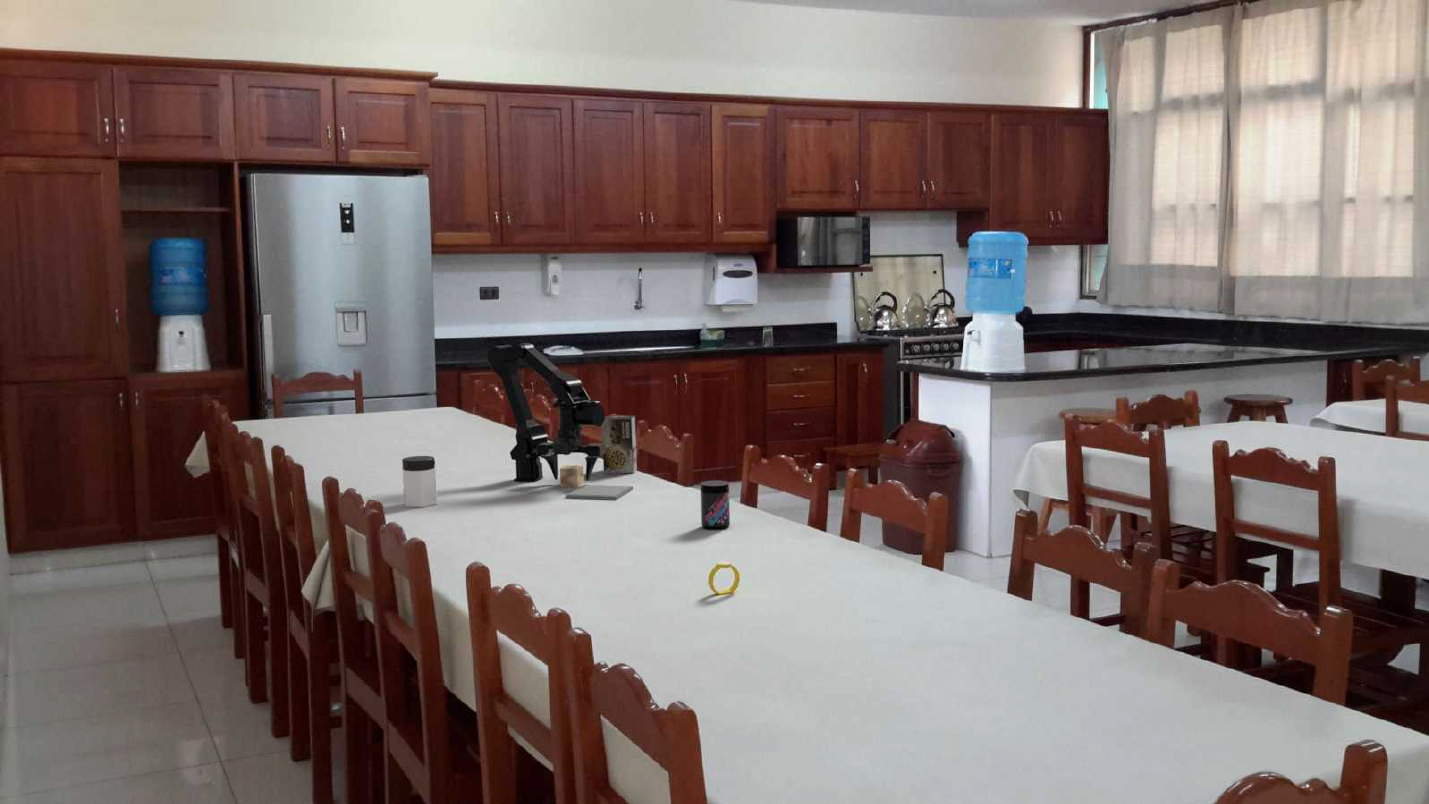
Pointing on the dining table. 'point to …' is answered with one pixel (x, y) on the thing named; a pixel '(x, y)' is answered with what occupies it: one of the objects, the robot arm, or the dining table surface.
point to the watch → (719, 565)
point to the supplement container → (715, 505)
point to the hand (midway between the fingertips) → (571, 480)
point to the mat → (599, 492)
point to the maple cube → (571, 476)
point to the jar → (419, 481)
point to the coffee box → (619, 444)
